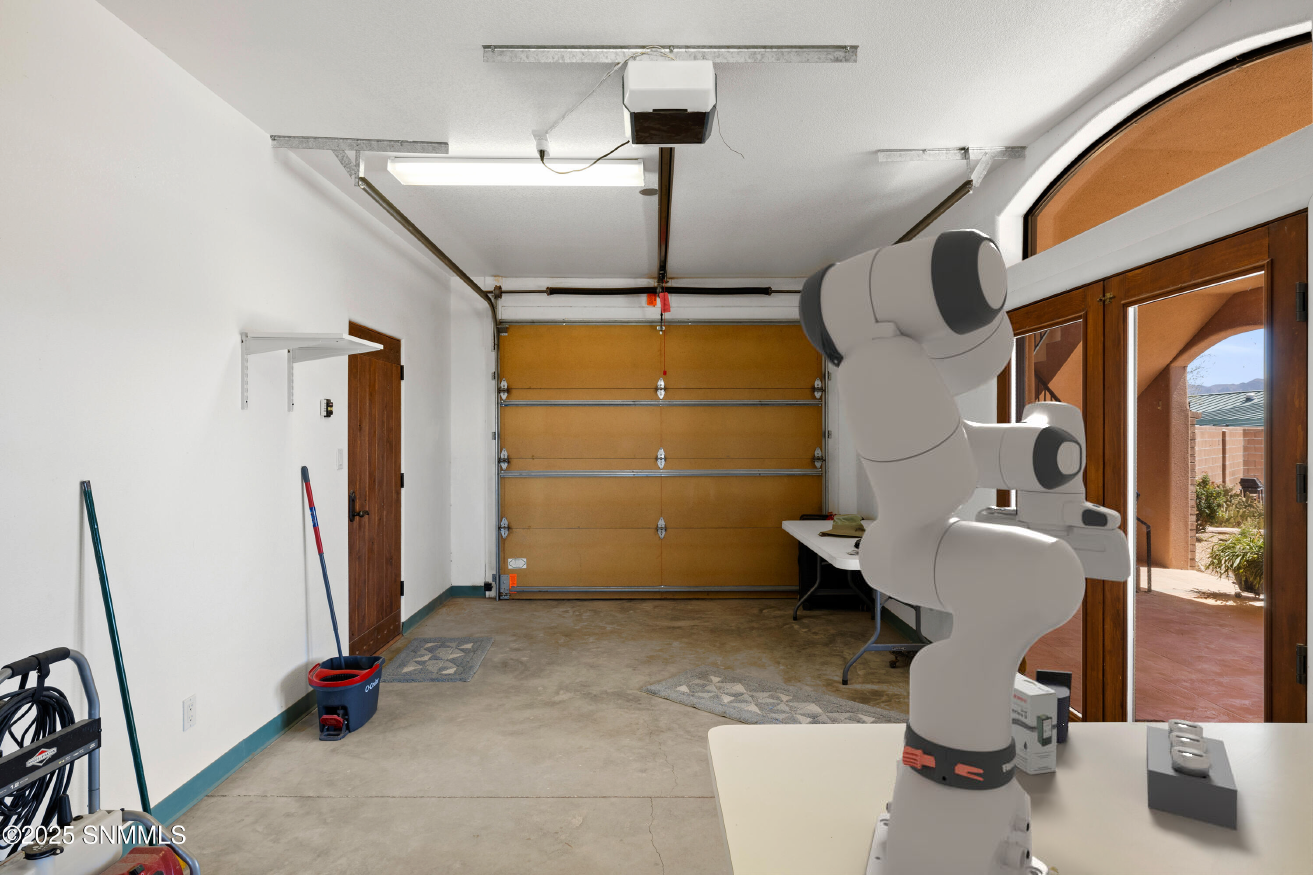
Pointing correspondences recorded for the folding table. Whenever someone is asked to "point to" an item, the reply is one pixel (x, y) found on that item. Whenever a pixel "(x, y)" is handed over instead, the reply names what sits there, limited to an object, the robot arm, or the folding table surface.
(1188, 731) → the far knob
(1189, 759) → the near knob
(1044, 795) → the folding table surface
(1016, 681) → the ink box
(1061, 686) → the speaker
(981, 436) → the robot arm
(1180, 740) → the middle knob
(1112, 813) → the folding table surface
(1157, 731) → the control panel
